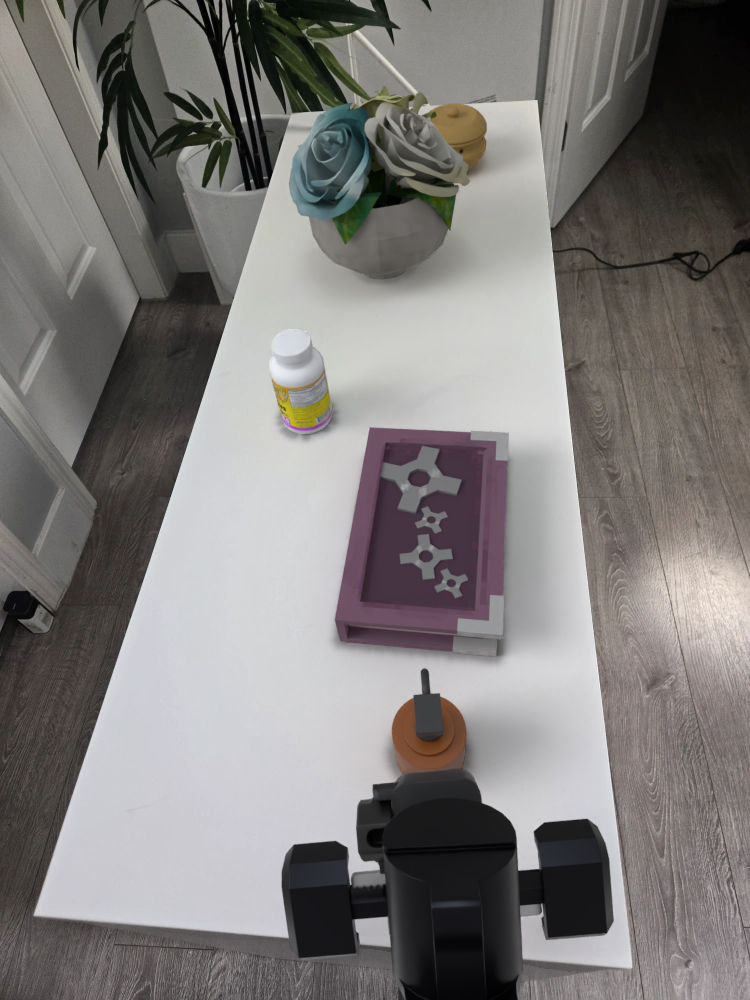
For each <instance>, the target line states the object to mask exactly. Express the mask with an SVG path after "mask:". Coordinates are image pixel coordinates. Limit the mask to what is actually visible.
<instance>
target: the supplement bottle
mask: <svg viewBox="0 0 750 1000" xmlns="http://www.w3.org/2000/svg"><path fill="white" fill-rule="evenodd" d="M270 343H271V344H270V347H271V351H272V356H271V358H270V359H269V363H268V371H269V377H270V379H271V383H272V387H273V391H274V394H275V398H276V402H277V406H278V409H279V413H280V417H281V421H282V423H283V425H284V426H285V427H286V429H288V430H289V431H291V432H293V433H295V434H300V435H311V434H315V433H317V432H319V431H322V430H323V429H324V428H326V427H327V426H328V425H329V423H330V422H331V420H332V418H333V413H334V411H333V404H332V398H331V393H330V389H329V383H328V378H327V373H326V366H325V361H324V357H323V355H322V353H321V351H319V350H318V348H316V347H315V346H314V345H313V342H312V337H311V336H310V334H309V333H308V332H307V331H305V330H303V329H300V328H287V329H284V330H282V331H280V332H278V333H277V334H275V336H274V337H273V338H272V339H271V342H270Z"/></svg>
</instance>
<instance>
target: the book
mask: <svg viewBox="0 0 750 1000" xmlns="http://www.w3.org/2000/svg"><path fill="white" fill-rule="evenodd" d="M509 439H510V432H506V431H505V432H504V431H486V430H485V431H484V430H482V431H481V430H471V431H456V430H455V431H454V430H434V429H413V428H412V429H411V428H393V427H372V426H371V427H369V429H368V435H367V440H366V445H365V452H364V455H363V456H364V457H363V462H362V467H361V473H360V479H359V484H358V489H357V495H356V501H355V506H354V511H353V512H354V513H353V515H352V522H351V527H350V533H349V538H348V545H347V548H346V549H347V550H346V556H345V559H344V560H345V562H344V566H343V571H342V577H341V583H340V588H339V595H338V599H337V603H336V604H337V605H336V610H335V615H334V622H335V626H336V630H337V634H338V638H339V641H340V642H345V643H356V644H366V645H377V646H390V647H401V648H410V649H420V650H421V649H422V650H434V651H444V652H452V654H461V655H471V656H472V655H473V656H485V657H495V658H496V657H497V649H498V648H497V646H498V640H503V638H504V621H505V620H504V619H505V618H504V616H505V595H504V569H505V568H504V567H505V539H506V538H505V536H506V534H505V533H506V503H507V499H506V498H507V470H508V469H507V467H508V464H509V447H510V445H509V442H510V440H509Z"/></svg>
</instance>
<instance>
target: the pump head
mask: <svg viewBox="0 0 750 1000" xmlns="http://www.w3.org/2000/svg"><path fill="white" fill-rule="evenodd" d="M430 681H431V680H430V672H429V669H428V668H425V667H423V668H421V670H420V682H421V683H420V684H421V693H420V694H413V695H412V696H413V697H412V698H413V699H414V712H415V726H416V737H428V736H443V735H444V730H443V720H442V709H441V699H440V697H441V693H439V692H437V693H432V692H431V682H430Z"/></svg>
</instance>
